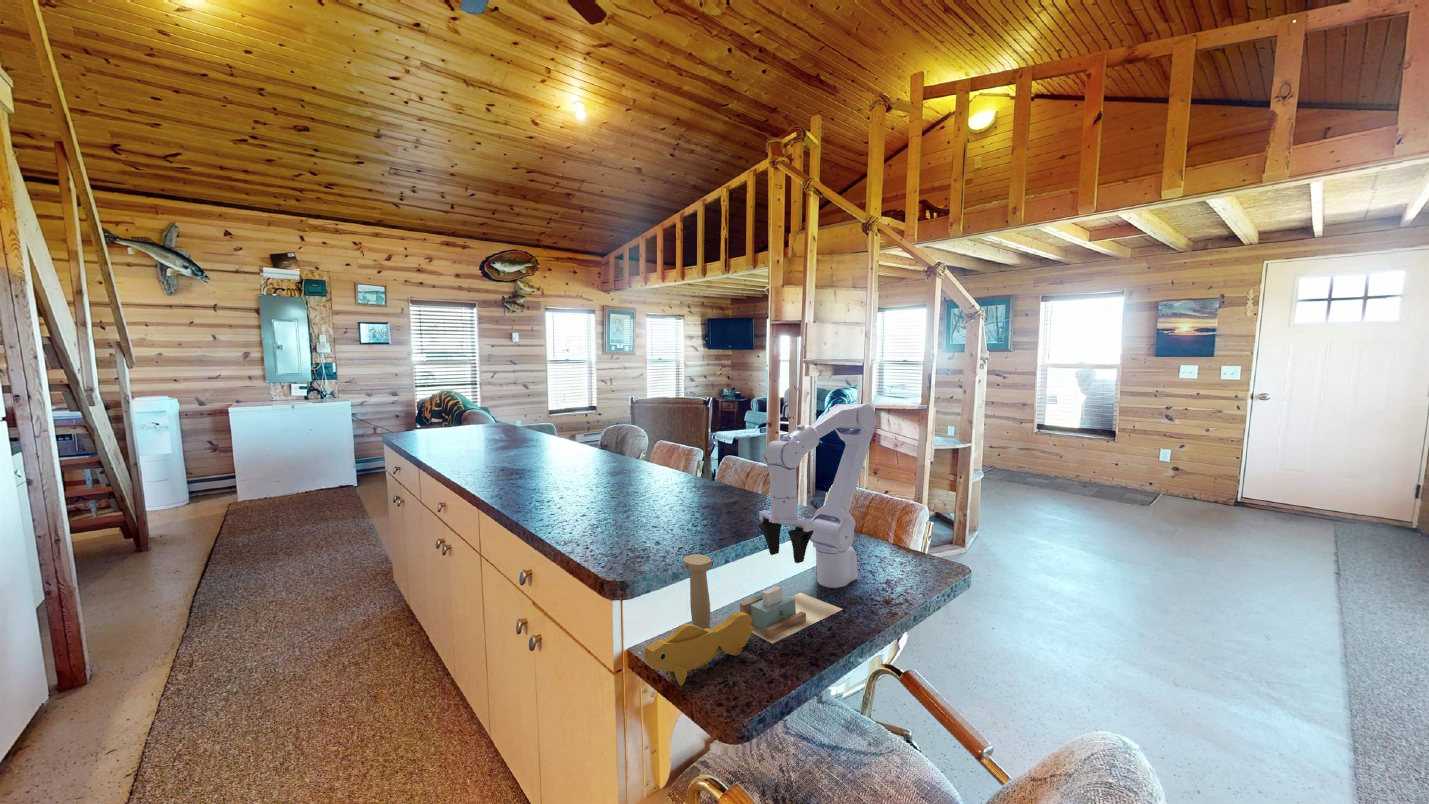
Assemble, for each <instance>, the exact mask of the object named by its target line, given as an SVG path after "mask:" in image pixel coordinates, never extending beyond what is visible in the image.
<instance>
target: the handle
mask: <svg viewBox="0 0 1429 804" xmlns="http://www.w3.org/2000/svg"><path fill="white" fill-rule="evenodd" d="M682 560H683V561H682V562H683V567H684V569H685V570H686V571H688V572H689V584H690V585H689V586H690V587H689V588H690V589H689V590H690V591H689V593H690V594H689V595H690V599H689V600H690V601H689V602H690V614H691V621H692V625H695V626H697V627H700V628H702V629H706V628H709V629H711V628H710V626H711V619H712V618H711V612H712V611H711V602H710V601H711V599H710V592H709V587H708V586H709V585H708V579H707V578H708V577H707V571H708V570H710V569H711V568H712V566H713V565H712V564H713V562H712V558H711V557H709V556H707V555H704V554H699V553H698V554H697V553H696V554H695V553H694V554H689V555H686V556H684V557H683V558H682Z"/></svg>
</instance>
